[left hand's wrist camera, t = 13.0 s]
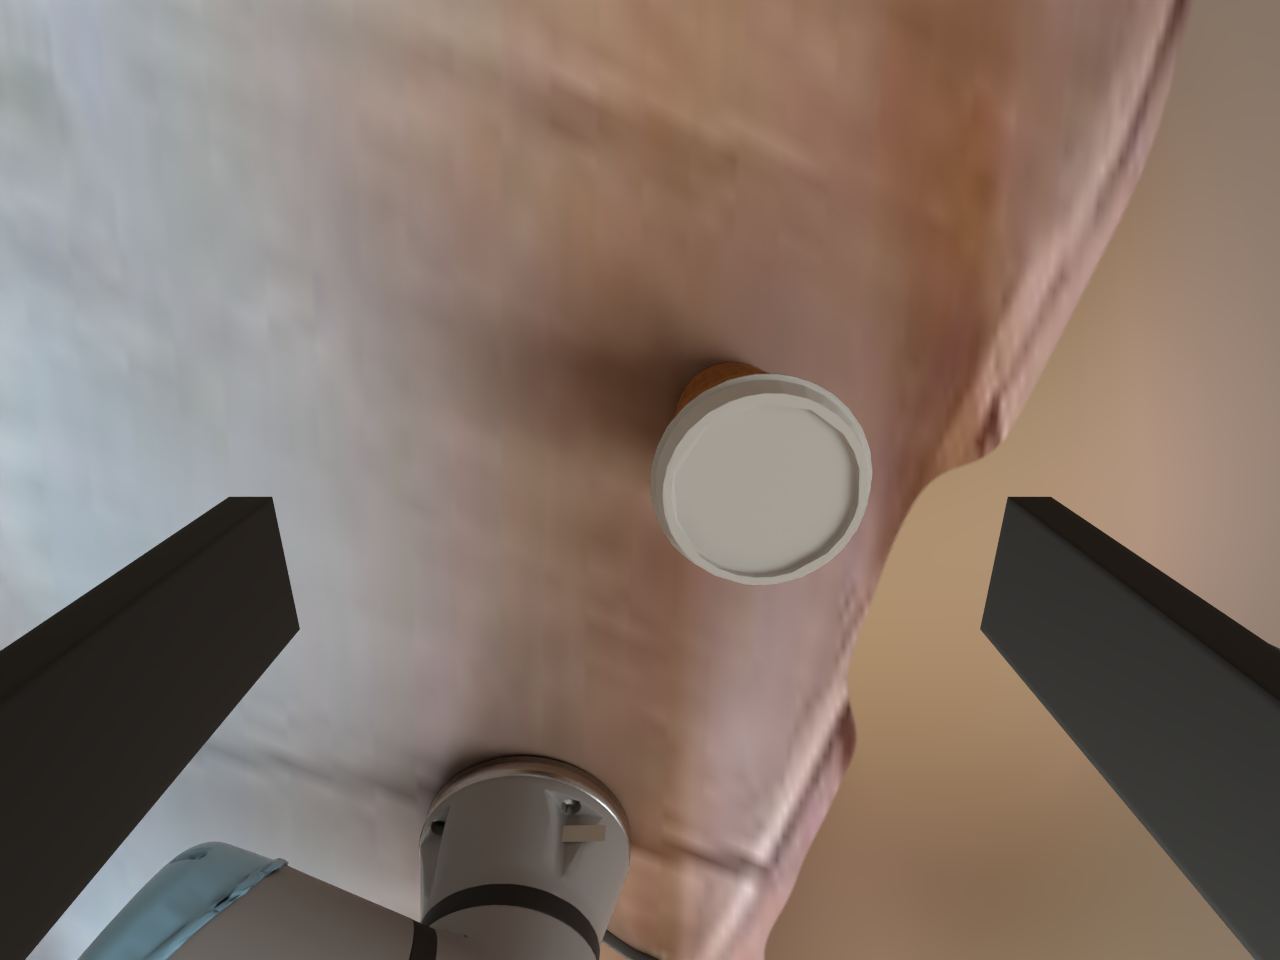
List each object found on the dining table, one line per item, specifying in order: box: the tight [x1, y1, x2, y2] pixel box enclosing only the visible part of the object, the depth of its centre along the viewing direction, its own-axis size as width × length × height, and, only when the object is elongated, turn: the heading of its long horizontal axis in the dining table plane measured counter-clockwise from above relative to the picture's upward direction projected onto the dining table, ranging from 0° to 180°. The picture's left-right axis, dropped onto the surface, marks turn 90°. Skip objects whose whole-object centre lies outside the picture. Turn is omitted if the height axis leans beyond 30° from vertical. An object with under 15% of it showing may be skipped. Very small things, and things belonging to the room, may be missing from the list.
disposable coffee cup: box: [650, 362, 872, 585], centre depth 34 cm, size 10×10×12 cm
